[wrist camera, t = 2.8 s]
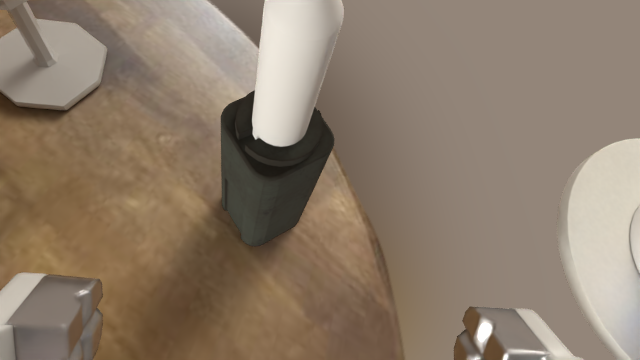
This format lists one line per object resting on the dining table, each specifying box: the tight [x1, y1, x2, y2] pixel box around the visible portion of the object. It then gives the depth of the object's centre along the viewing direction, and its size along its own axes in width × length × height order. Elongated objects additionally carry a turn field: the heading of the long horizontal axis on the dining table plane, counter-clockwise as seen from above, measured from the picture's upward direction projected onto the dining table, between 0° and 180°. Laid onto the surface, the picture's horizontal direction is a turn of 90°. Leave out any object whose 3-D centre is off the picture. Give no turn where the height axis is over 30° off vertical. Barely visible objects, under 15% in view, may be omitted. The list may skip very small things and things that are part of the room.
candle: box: [221, 0, 344, 246], centre depth 24 cm, size 5×5×25 cm
